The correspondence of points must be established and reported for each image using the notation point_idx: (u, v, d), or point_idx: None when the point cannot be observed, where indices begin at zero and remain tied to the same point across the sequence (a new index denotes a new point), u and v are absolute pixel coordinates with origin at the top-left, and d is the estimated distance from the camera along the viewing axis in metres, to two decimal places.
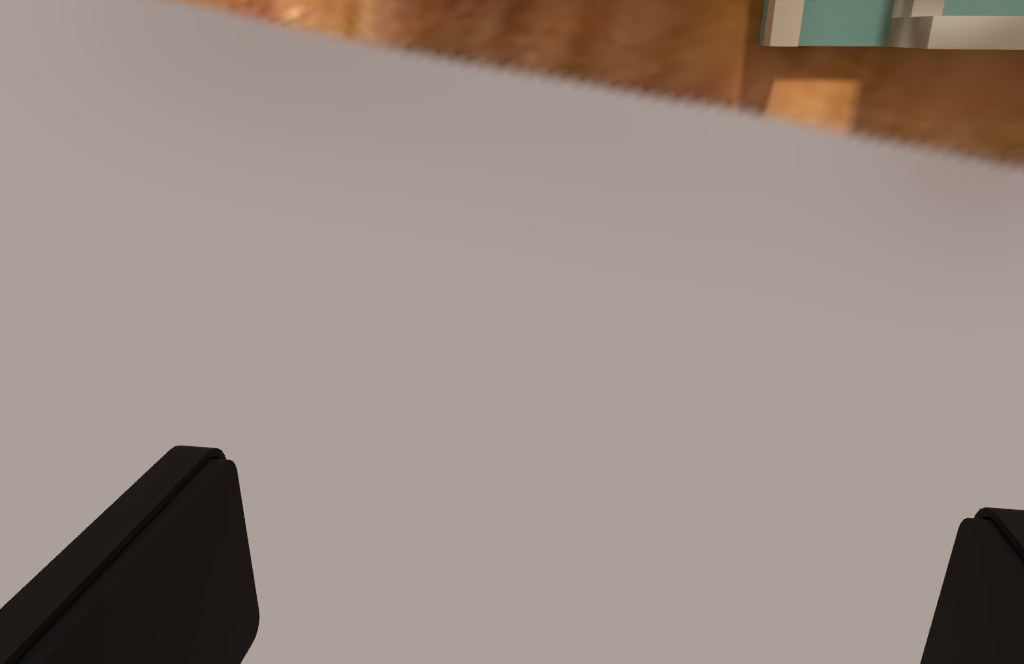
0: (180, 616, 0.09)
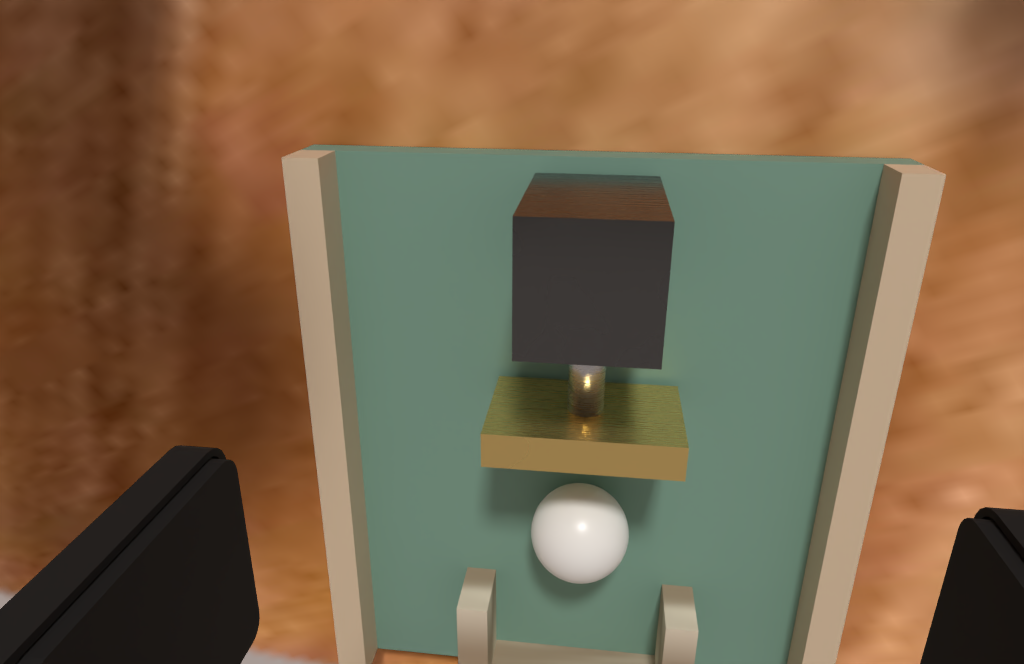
0: (180, 616, 0.09)
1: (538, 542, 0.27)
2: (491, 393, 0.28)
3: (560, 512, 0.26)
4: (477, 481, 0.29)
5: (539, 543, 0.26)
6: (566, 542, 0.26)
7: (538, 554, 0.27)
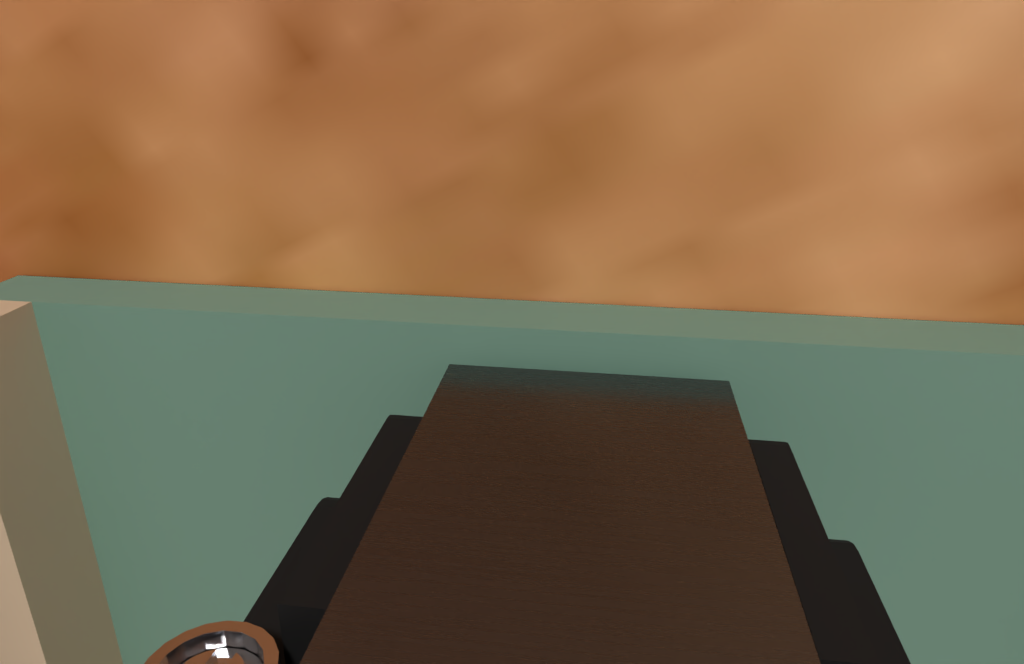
0: None
1: None
2: None
3: None
4: None
5: None
6: None
7: None
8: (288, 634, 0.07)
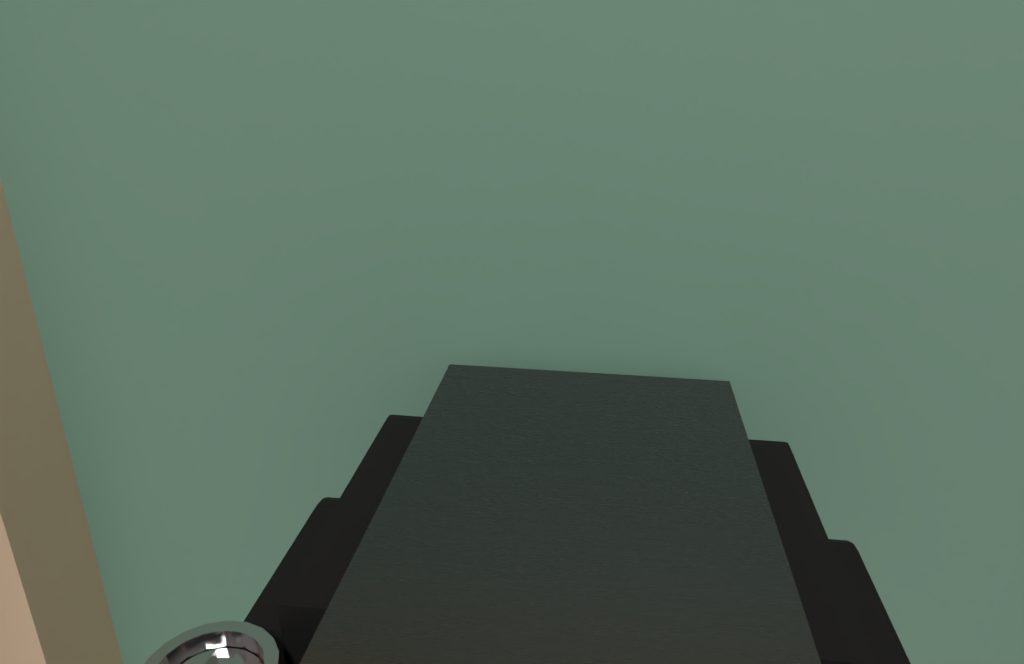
0: None
1: None
2: (361, 438, 0.12)
3: None
4: None
5: None
6: None
7: None
8: (288, 634, 0.07)
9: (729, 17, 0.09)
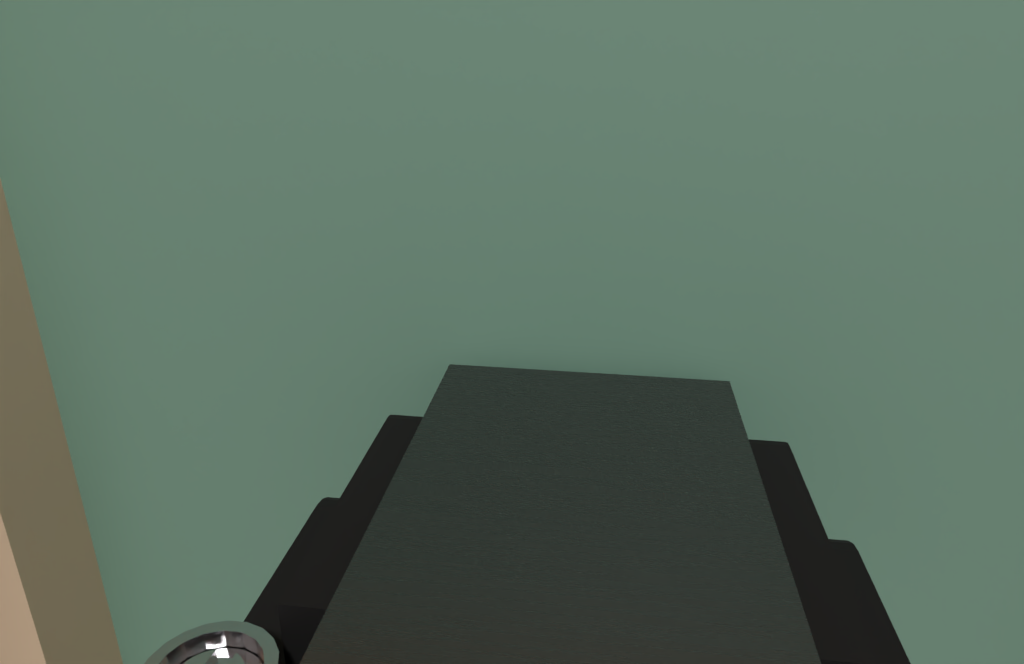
0: None
1: None
2: (361, 437, 0.12)
3: None
4: None
5: None
6: None
7: None
8: (288, 634, 0.07)
9: (729, 16, 0.09)
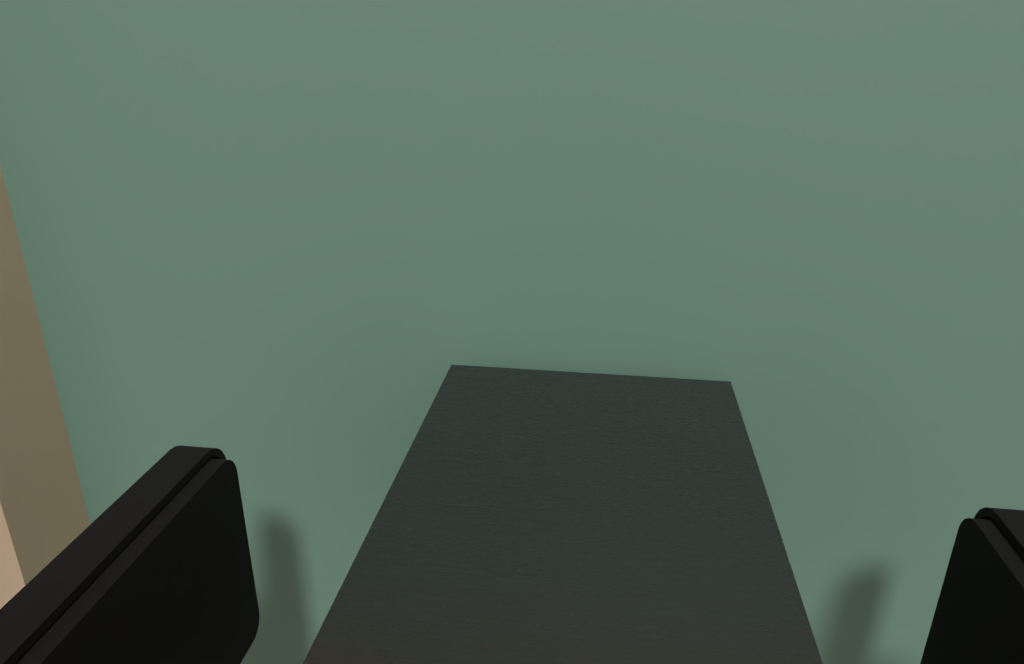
0: (180, 616, 0.09)
1: None
2: (362, 437, 0.12)
3: None
4: None
5: None
6: None
7: None
8: None
9: (730, 17, 0.09)
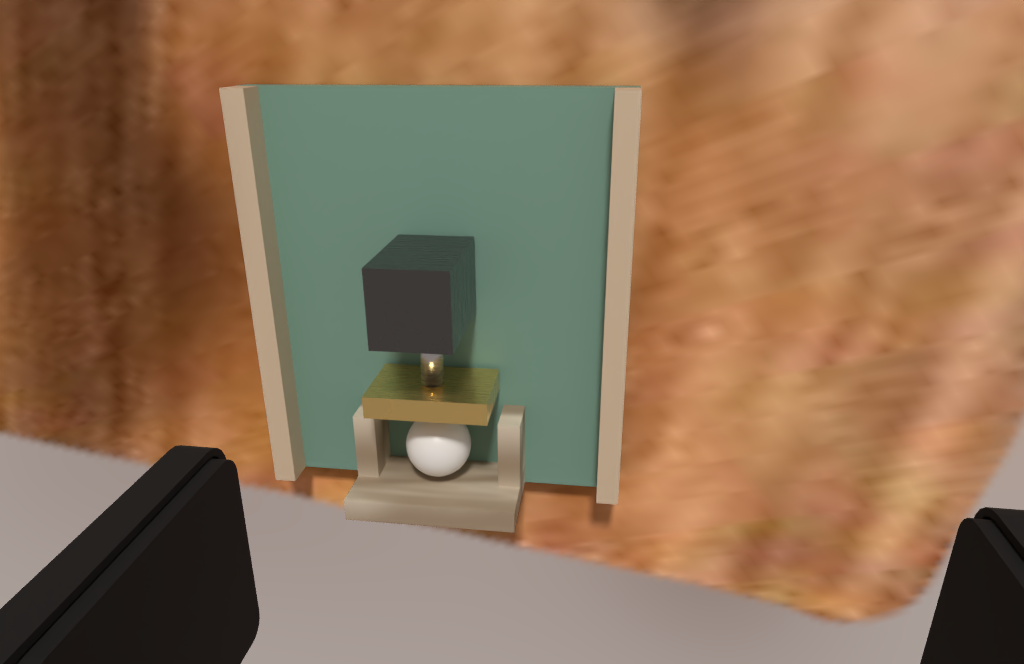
0: (180, 616, 0.09)
1: None
2: None
3: None
4: None
5: None
6: None
7: None
8: None
9: (463, 141, 0.36)
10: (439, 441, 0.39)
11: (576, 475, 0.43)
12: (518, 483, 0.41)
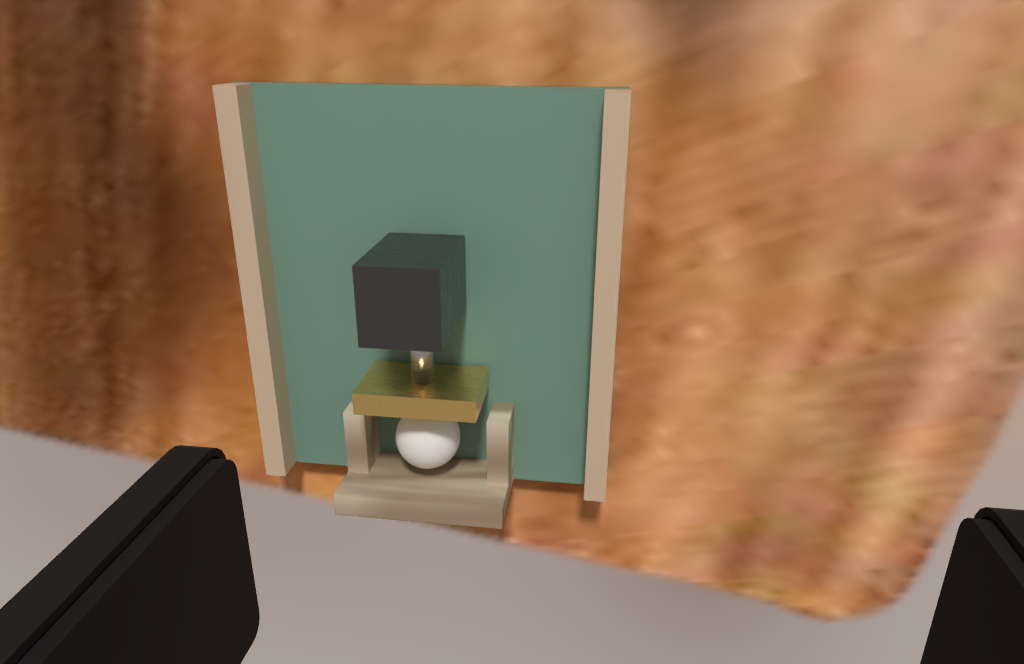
0: (180, 616, 0.09)
1: None
2: None
3: None
4: None
5: None
6: None
7: None
8: None
9: (454, 140, 0.37)
10: (429, 428, 0.40)
11: (564, 472, 0.43)
12: (506, 480, 0.41)
